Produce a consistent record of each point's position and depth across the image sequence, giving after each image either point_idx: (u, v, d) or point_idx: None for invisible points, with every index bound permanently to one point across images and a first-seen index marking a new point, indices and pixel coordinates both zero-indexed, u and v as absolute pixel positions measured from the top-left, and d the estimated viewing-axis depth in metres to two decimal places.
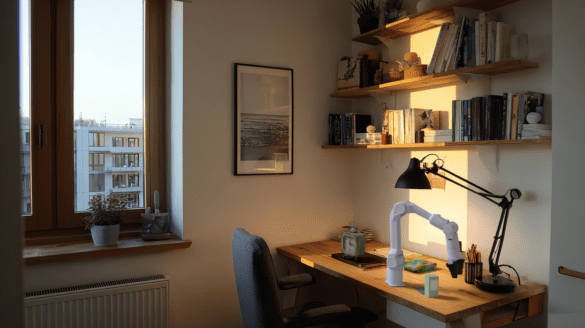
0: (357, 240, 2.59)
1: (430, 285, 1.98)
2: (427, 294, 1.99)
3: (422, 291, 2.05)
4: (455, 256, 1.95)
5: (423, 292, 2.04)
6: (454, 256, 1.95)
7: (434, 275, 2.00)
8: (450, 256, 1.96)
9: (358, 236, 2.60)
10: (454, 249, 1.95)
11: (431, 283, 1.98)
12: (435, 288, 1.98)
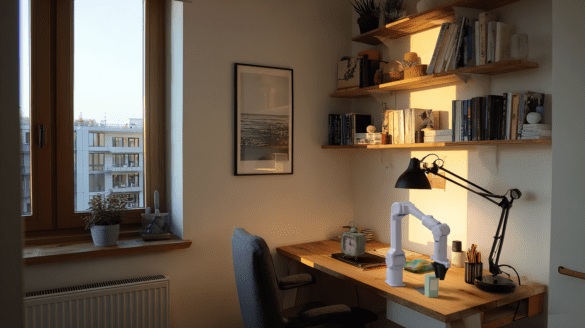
0: (357, 240, 2.59)
1: (430, 285, 1.98)
2: (427, 294, 1.99)
3: (422, 291, 2.05)
4: (445, 259, 1.90)
5: (423, 292, 2.04)
6: (445, 259, 1.90)
7: (434, 275, 2.00)
8: (441, 259, 1.90)
9: (358, 236, 2.60)
10: (445, 252, 1.90)
11: (431, 283, 1.98)
12: (435, 288, 1.98)
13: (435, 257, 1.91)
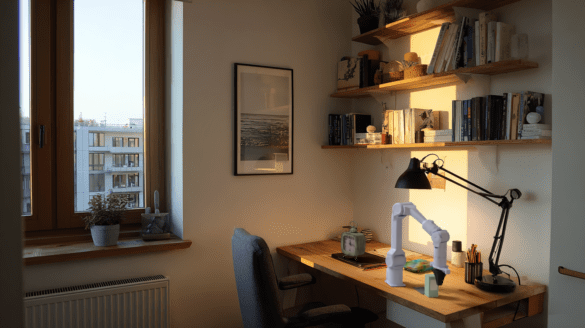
0: (357, 240, 2.59)
1: (430, 285, 1.98)
2: (427, 294, 1.99)
3: (422, 291, 2.05)
4: (445, 265, 1.91)
5: (423, 292, 2.04)
6: (444, 265, 1.90)
7: None
8: (440, 265, 1.90)
9: (358, 236, 2.60)
10: (445, 258, 1.90)
11: (431, 283, 1.98)
12: (435, 288, 1.98)
13: (435, 263, 1.92)
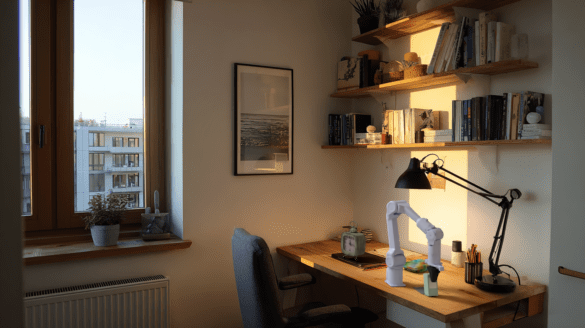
0: (357, 240, 2.59)
1: (429, 283, 1.99)
2: (427, 293, 1.99)
3: (422, 291, 2.05)
4: (439, 262, 1.96)
5: (423, 292, 2.04)
6: (438, 262, 1.95)
7: None
8: (435, 262, 1.95)
9: (358, 236, 2.60)
10: (439, 255, 1.96)
11: (430, 281, 1.99)
12: (434, 286, 1.99)
13: (429, 260, 1.97)
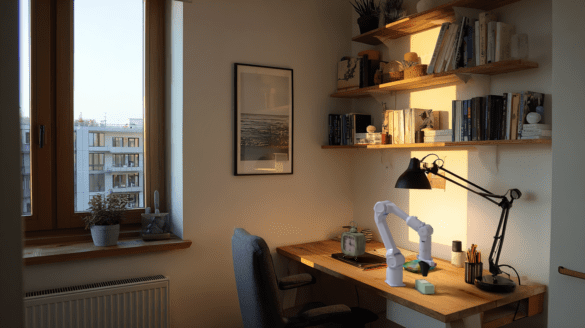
0: (357, 240, 2.59)
1: (420, 281, 2.07)
2: (423, 287, 2.03)
3: None
4: (430, 257, 2.04)
5: None
6: (429, 258, 2.04)
7: None
8: (425, 258, 2.04)
9: (358, 236, 2.60)
10: (430, 251, 2.04)
11: (420, 280, 2.09)
12: (426, 282, 2.06)
13: (420, 256, 2.06)
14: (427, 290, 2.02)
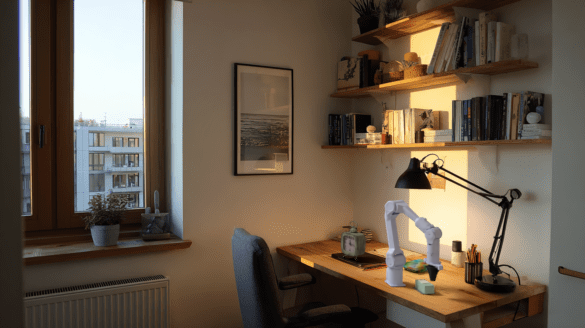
0: (357, 240, 2.59)
1: (420, 281, 2.07)
2: (423, 287, 2.03)
3: None
4: (438, 261, 1.97)
5: None
6: (437, 261, 1.97)
7: None
8: (433, 261, 1.96)
9: (358, 236, 2.60)
10: (438, 254, 1.97)
11: (420, 280, 2.09)
12: (426, 282, 2.06)
13: (428, 260, 1.98)
14: (427, 290, 2.02)
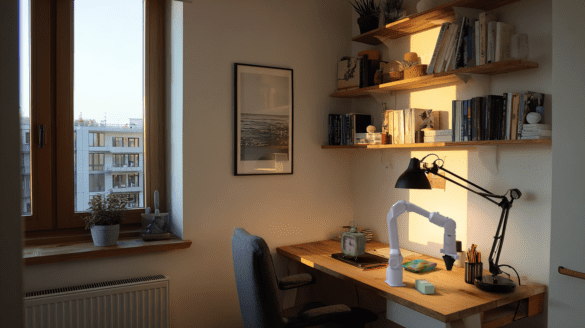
0: (357, 240, 2.59)
1: (420, 281, 2.07)
2: (423, 287, 2.03)
3: None
4: (454, 251, 2.05)
5: None
6: (454, 252, 2.04)
7: None
8: (450, 252, 2.04)
9: (358, 236, 2.60)
10: (454, 245, 2.04)
11: (420, 280, 2.09)
12: (426, 282, 2.06)
13: (444, 250, 2.06)
14: (427, 290, 2.02)
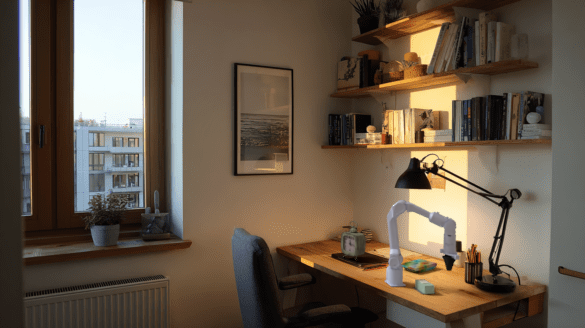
0: (357, 240, 2.59)
1: (420, 281, 2.07)
2: (423, 287, 2.03)
3: None
4: (454, 251, 2.05)
5: None
6: (454, 252, 2.04)
7: None
8: (450, 252, 2.04)
9: (358, 236, 2.60)
10: (454, 245, 2.04)
11: (420, 280, 2.09)
12: (426, 282, 2.06)
13: (444, 250, 2.06)
14: (427, 290, 2.02)
